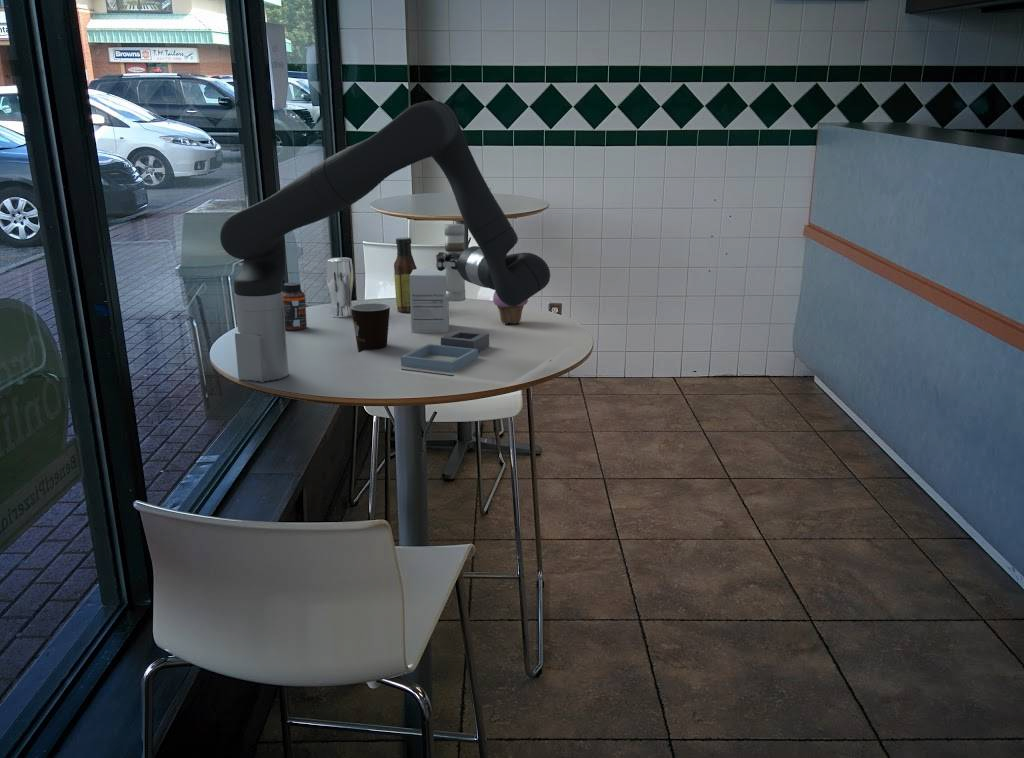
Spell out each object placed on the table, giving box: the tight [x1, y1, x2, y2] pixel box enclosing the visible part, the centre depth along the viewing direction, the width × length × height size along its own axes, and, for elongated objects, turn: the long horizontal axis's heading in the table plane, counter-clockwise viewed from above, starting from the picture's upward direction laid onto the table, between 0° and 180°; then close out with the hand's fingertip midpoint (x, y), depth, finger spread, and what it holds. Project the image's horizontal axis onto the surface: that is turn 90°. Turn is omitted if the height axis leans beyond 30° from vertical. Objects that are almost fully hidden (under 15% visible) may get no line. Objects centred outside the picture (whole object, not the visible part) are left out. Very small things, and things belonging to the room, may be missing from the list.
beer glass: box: [325, 256, 354, 318], centre depth 236 cm, size 7×7×15 cm
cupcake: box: [492, 290, 529, 325], centre depth 227 cm, size 9×9×10 cm
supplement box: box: [410, 268, 450, 334], centre depth 217 cm, size 9×9×15 cm
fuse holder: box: [440, 330, 490, 353], centre depth 198 cm, size 8×10×4 cm
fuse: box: [444, 223, 466, 302], centre depth 190 cm, size 4×4×16 cm
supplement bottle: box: [283, 282, 308, 331], centre depth 221 cm, size 6×6×11 cm
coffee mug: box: [351, 302, 391, 353], centre depth 201 cm, size 12×9×10 cm
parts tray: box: [400, 343, 479, 377], centre depth 188 cm, size 12×12×3 cm
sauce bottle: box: [393, 236, 418, 313], centre depth 240 cm, size 7×6×20 cm
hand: (449, 256), depth 192 cm, fingers closed on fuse, 4 cm apart
